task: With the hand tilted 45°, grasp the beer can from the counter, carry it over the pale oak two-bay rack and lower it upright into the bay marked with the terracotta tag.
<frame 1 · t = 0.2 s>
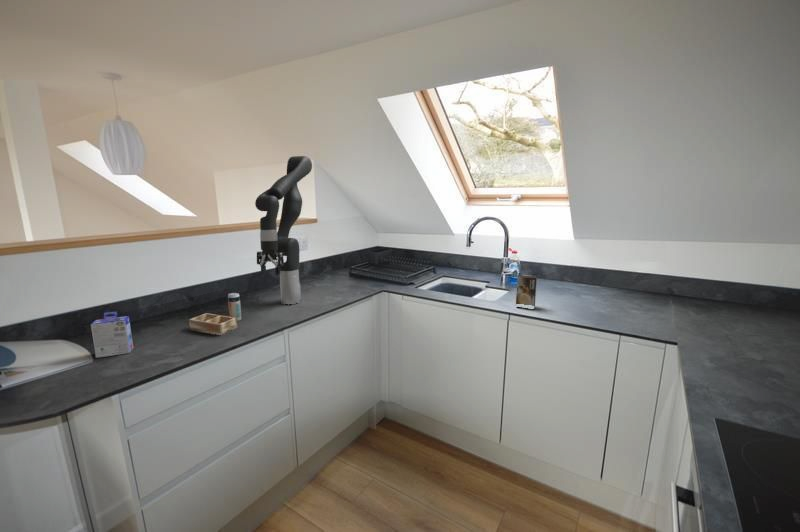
hand: (270, 274, 171), 18 cm above the worktop, tool pointing down, fingers open, 8 cm apart
coffee box: (525, 307, 183), on the worktop
can rack: (213, 329, 151), on the worktop
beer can: (235, 320, 161), on the worktop
ink cartridge box: (115, 353, 128), on the worktop
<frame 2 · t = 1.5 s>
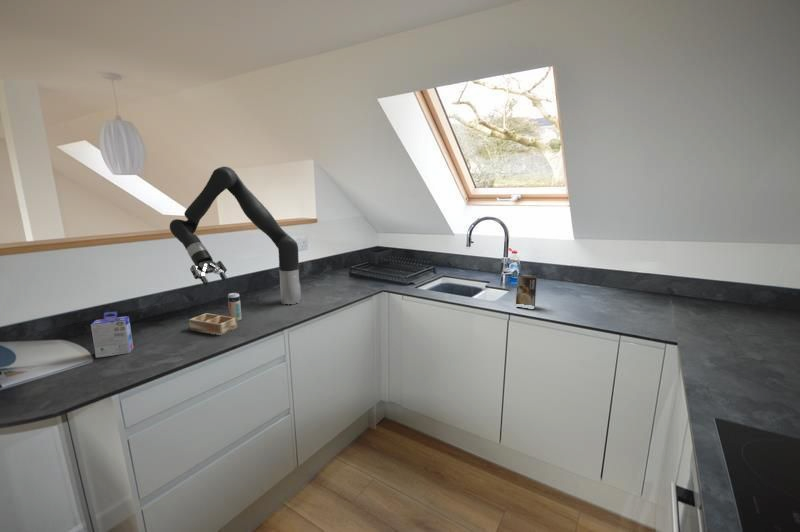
hand: (216, 282, 164), 16 cm above the worktop, tool tilted 45°, fingers open, 8 cm apart
nothing on the worktop moved.
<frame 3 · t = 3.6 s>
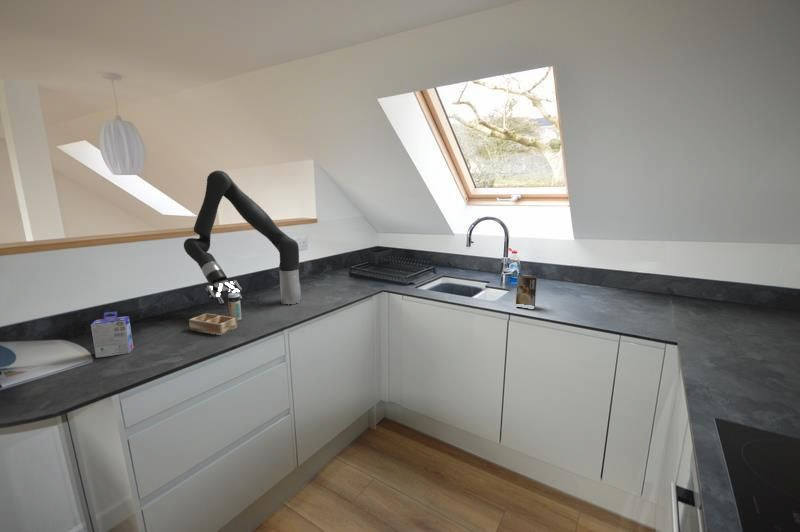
hand: (232, 302, 161), 8 cm above the worktop, tool tilted 45°, fingers open, 8 cm apart
nothing on the worktop moved.
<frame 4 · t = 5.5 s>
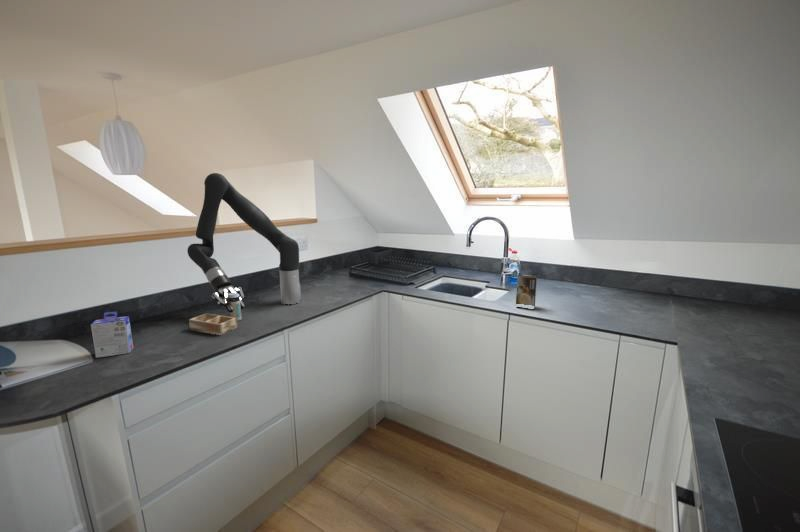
hand: (237, 309, 160), 5 cm above the worktop, tool tilted 45°, fingers closed on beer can, 4 cm apart
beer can: (235, 320, 162), on the worktop, touching gripper
everything else where it was.
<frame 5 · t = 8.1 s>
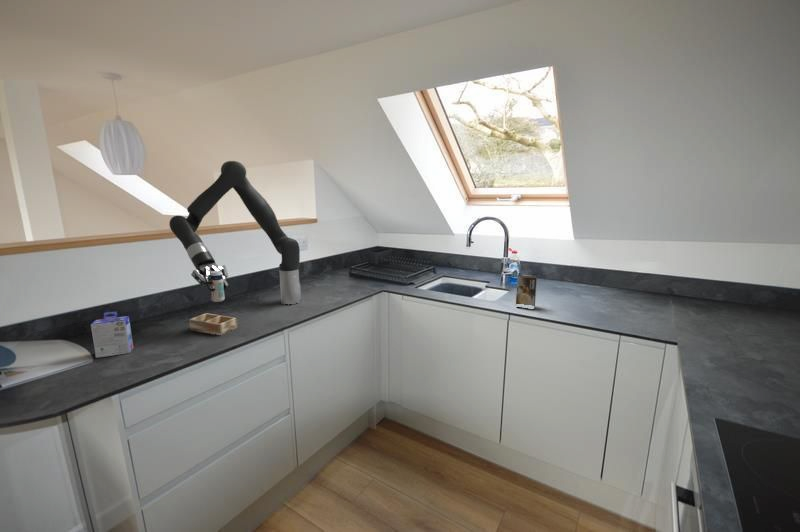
hand: (220, 289, 147), 17 cm above the worktop, tool tilted 45°, fingers closed on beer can, 4 cm apart
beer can: (218, 301, 149), point 12 cm above the worktop, touching gripper
everything else where it was.
when the fingers open (8 cm above the worktop, at t = 10.8 s): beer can drops 1 cm, resting on can rack.
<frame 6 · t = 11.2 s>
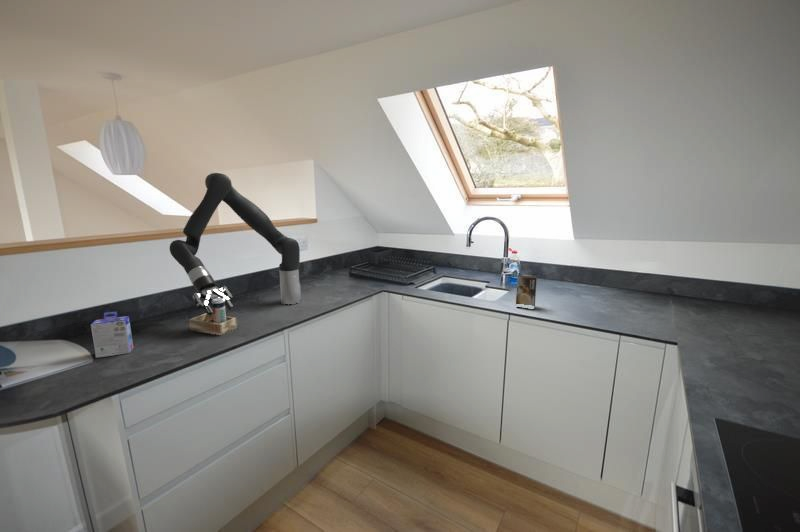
hand: (221, 311, 147), 8 cm above the worktop, tool tilted 45°, fingers open, 8 cm apart
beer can: (220, 327, 150), point 1 cm above the worktop, touching can rack
everything else where it was.
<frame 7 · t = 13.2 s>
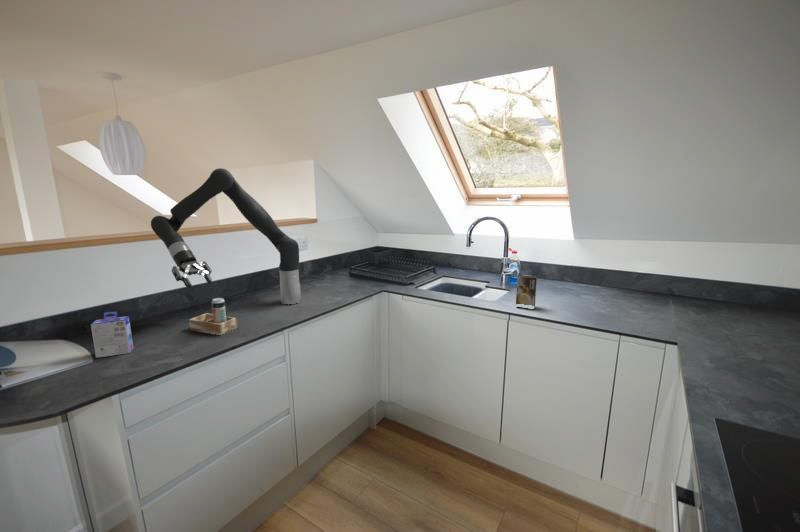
hand: (200, 284, 152), 18 cm above the worktop, tool tilted 45°, fingers open, 8 cm apart
nothing on the worktop moved.
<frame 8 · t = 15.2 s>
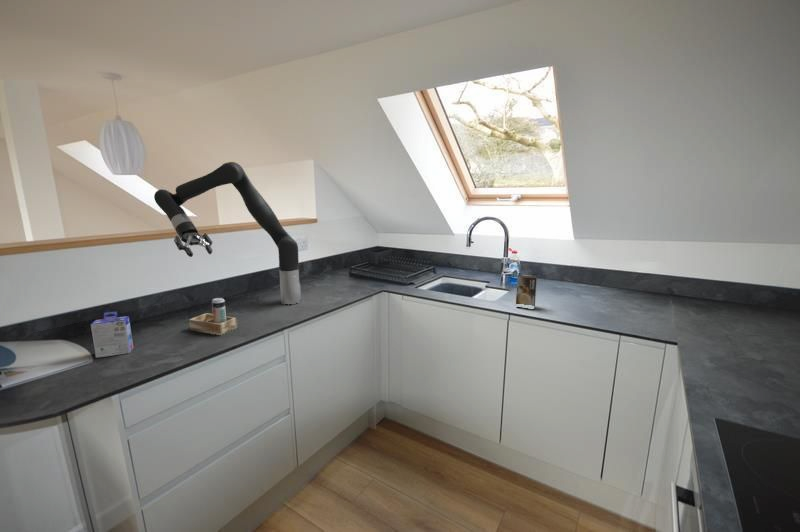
hand: (201, 254, 160), 29 cm above the worktop, tool tilted 45°, fingers open, 8 cm apart
nothing on the worktop moved.
at the end: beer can 0.3 cm from the target spot on the can rack, point 1.0 cm above the can rack's base; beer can tilted 0°; the gripper is holding nothing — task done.
